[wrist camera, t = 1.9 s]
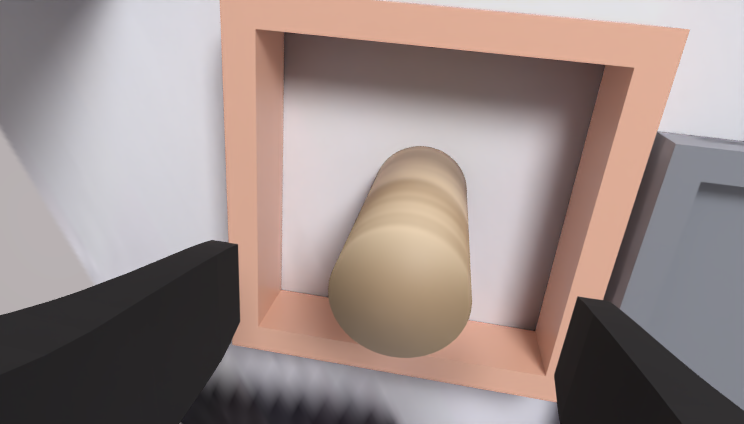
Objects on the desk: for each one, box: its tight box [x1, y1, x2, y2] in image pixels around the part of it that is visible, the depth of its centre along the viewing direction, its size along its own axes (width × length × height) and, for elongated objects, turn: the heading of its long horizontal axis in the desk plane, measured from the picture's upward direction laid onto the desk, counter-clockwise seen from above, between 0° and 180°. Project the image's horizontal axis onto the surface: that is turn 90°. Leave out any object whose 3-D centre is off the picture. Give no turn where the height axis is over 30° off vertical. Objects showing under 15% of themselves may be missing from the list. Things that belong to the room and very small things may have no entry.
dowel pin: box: [328, 146, 472, 358], centre depth 14 cm, size 3×3×7 cm
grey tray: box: [603, 131, 744, 410], centre depth 17 cm, size 16×10×2 cm, turn 175°
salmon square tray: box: [220, 0, 690, 402], centre depth 16 cm, size 12×12×2 cm
